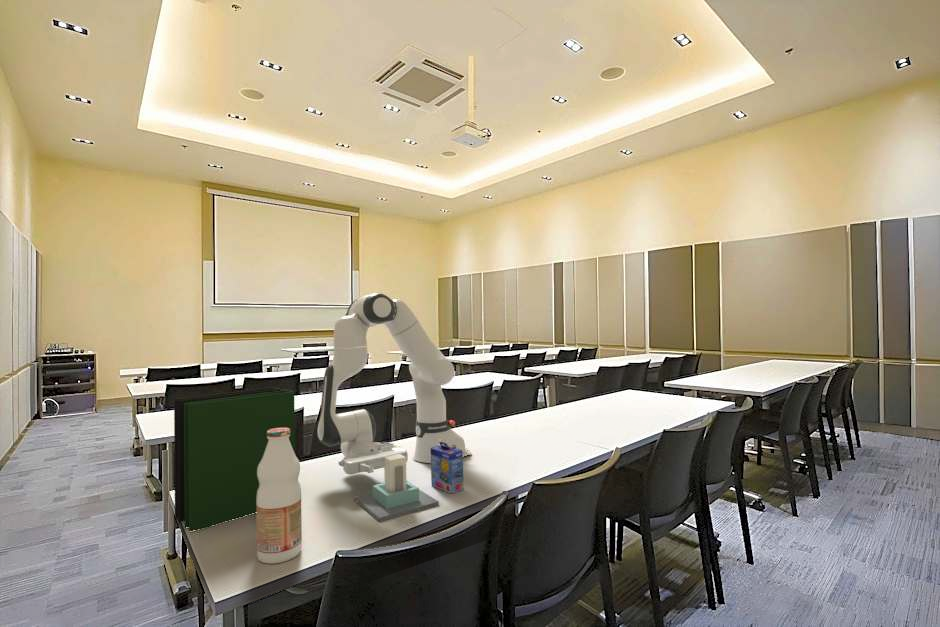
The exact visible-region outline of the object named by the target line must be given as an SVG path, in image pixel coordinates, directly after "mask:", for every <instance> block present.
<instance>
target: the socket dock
mask: <svg viewBox="0 0 940 627" xmlns="http://www.w3.org/2000/svg"><path fill="white" fill-rule="evenodd" d="M406 483H407V489H406V490H402V491H398V492H394V493H390V494H389V493H387V492H386V491H385V482H383V483H382V482H381V483H377V484H374V485H372V491H371V492H367V493H364V494H358V495H356V496H354V497H353V500H354V501H355V502H356V501H357V502H358V503H359V504H360V505H361V506H360V505H359V504H358V503H357V502H356V503H357V504H358V505H359V506H360V507H362V508H363V510H365V509H366V510H367V511H368V513H369V515H371V516H372V517H373V518H374V519H376V520H377V521H378V522H383V521H386V520H387V521H388V520H390V519H394V518H398V517H401V516H404V515H407V514H412V513H415V512H419V511H422V510H426V509H429V508H434V507H437V506H439V504H440V502H439V501H438V500H437V499H435V498H434V497H432V496H431V495H429V494H428V493H425V492H424V491H422V490H421V489H420V487H419V486H416V485H415V484H413V483H412V482H410V481H408V480H407V479H406ZM366 510H365V511H366ZM367 511H366V512H367Z"/></svg>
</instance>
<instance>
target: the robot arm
mask: <svg viewBox="0 0 940 627" xmlns="http://www.w3.org/2000/svg"><path fill="white" fill-rule="evenodd" d="M382 324H383V326H385V327H386V328H387V329H388V331H389V333H390V335H391V336H392V338H393V339H394V341H395V342H396V344H397V345H398V347H399V348H400V351H401V352H402V353H403V354H404V355H405V356H406V357H407V358H408V359H409V361H410V362H409V364H408V370H409V373H410V375H411V378H412V384H413V387H414V393H415V400H416V421H415V435H416V441H415V448H414V453H413V457H412V458H413V460H414V461H416V462H419V463H426V464H427V463H428V464H431V448H432V447H435V446H439V445H440V443H439V442H443V443H447V445H448V446H450V447H452V448H456V449H460V450H462V454H463V457H464V456H467V455H470V454H471V455H472V451H471V450H470V449H468V448H467V447H466V442H465V440H464V438H463V437H462V436H461V435H460V434H458V432H456V431H454V430H453V429H452V428H451V427H455V425H456V422H455V420H452V419H450V420H449V419H447V401H446V400H447V399H446V397H445V395H444V393H443V389H442V386H444V385H447V384H449V383H450V382H451V381H452V380H453V378H454V376H455V366H454V365H453V363H452V362H451V361H450V360H449V359H448V358H447V357H446V356H445V355H444V354H443V353H442V351H441V350H440V348H439V347H438V346H437V345H436V344H435V343H434V342H433V341H432V339H431V338H430V337H429V336H428V335H427V333H426V331H425V329H424V327H423V326H422V324H421V323H420V321H419V320H418V318H417V316H416V315H415V314H414V312H413V311H412V309H411V308H410V307H409V306H408V304H406V302H405V301H404V300H402V299H399V298H396V299H394V298H393V299H391V298H390V297H389V296H388V295H386V294H384V293H379V292H378V293H377V292H374V293H371V294H366V295H363V296H361V297H359V298H357V299H355V300H353V301H352V302H351V303H350V304H349V306H348V309H347V311H346V314H345V316H342V317H339V318H338V319H337V320H336V321H335V323H334V328H333V359H332V361H331V363H330V365H328V366H327V367H326V368H325V370H324V376H323V381H322V382H323V384H322V392H321V402H320V403H321V404H320V412H319V418H318V423H317V438H318V441H319V442H320V443H322V444H323V445H325V446H327V447H330V448H331V447H332V448H333V447H335V446H338V445H340V451H341V453H342V455H343V456H344V457H343V458H342V459H341V461H338V463H337V464H338V466H340V467H342V469H343V471H344V472H345V474H346V475H355V474H359V473H366V474H367V473H368V474H371V473H374V470H379V469H384V457H387V456H393V455H398V454H401V455H403V456H405V457H406V463H408V461H409V460H408V456H409V455H408V451H407V450H406V449H405V448H402V447H400V446H398V445H394V443H393V442H391V441H388V442H379V441H378V442H377V441H374V440H375V437H376V432H377V425H376V424H377V423H376V420H375V418H374V416H373V415H372V413H370V411H369V410H367V409H365V408H362V409H356V410H351V411H347V412H345V411H344V412H340V413H336V409H337V408H336V406H337V397H338V396H337V395H338V390H339V387H340V386H341V384H342V383H343V382H344V381H346V380H347V379H350V378H351V377H353V376H355V375H357V374H358V373H360V372H361V371H362V370H363V369H365V367H366V364H367V363H368V359H369V358H368V357H369V356H368V355H369V354H368V344H367V343H368V341H367V332H368V330H369V328H371V327H375V326H377V325H382ZM442 445H444V444H442ZM471 455H470V456H471ZM467 457H468V456H467ZM464 458H465V457H464Z"/></svg>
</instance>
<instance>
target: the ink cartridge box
mask: <svg viewBox="0 0 940 627" xmlns="http://www.w3.org/2000/svg"><path fill="white" fill-rule="evenodd" d="M439 443H440V445H439V446H435V447H432V448H431V463H430V474H431V478H430V480H431V483H430V484H431V487H434V488H436V487H437V488H436V489H439V490H442V491H443V490H444V491H443V492H446V493H448V492H449V494H454V493H457V492H460V491H462V489H463V490H464V489H465V486H464V484H465V482H464V460H463V459H464V458H463V454H462V450H460V449H456V448H452V447H450V446H448V445H447V443H443V442H439ZM442 444H444V445H442ZM459 490H460V491H459Z"/></svg>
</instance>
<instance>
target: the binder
mask: <svg viewBox="0 0 940 627" xmlns="http://www.w3.org/2000/svg"><path fill="white" fill-rule="evenodd" d="M173 406H174V407H173V409H174V410H173V411H174V412H173V413H174V414H173V416H174V418H173V420H174V421H173V422H174V424H173V425H174V426H173V428H174V430H173V431H174V432H173V434H174V435H173V436H174V442H173V443H174V445H173V446H174V447H173V448H174V451H173V452H174V519H175V520H176V519H178V523H182V522H184V529H185V528H186V527H189V528H188V532H189V531H193V530H198V529H201V530H203V529H202V528H205V529H207V528H206V527H208V528H211V527H213V526H212V525H215V526H217V525H216V524H218V525H220V524H219V523H221V524H223V523H222V522H225V521H228V522H230V521H229V520H231V521H233V520H232V519H235V520H237V519H236V518H238V519H240V518H239V517H242V518H244V517H243V516H245V515H248V516H250V515H249V514H252V513H255V512H257V509H256V497H257V490H258V488H259V481H258V477H257V468H258V465H259V463H260V462H261V460H262V458H263V455H264V452H265V449H266V446H267V444H268V439H267V431H268V430H270V429H274V428H289V429H290V436H289V441H290V443H291V446H292V448H293V451H294V453H295V454H296V449H295V447H296V444H295V443H296V441H295V440H296V438H295V436H296V435H295V432H296V430H295V429H296V428H295V426H296V425H295V420H296V419H295V418H296V417H295V391H294V390H293V391H292V390H288V389H283V390H281V388H278V387H274V386H273V387H266V388H256V389H247V390H239V391H233V392H224V393H216V394H215V393H214V394H207V395H199V396H192V397H191V396H190V397H183V398H182V397H181V398H175V399H174V400H173ZM255 514H256V513H255ZM252 515H253V514H252ZM245 517H246V516H245ZM225 523H226V522H225ZM210 526H211V527H210ZM198 531H199V530H198Z"/></svg>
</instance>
